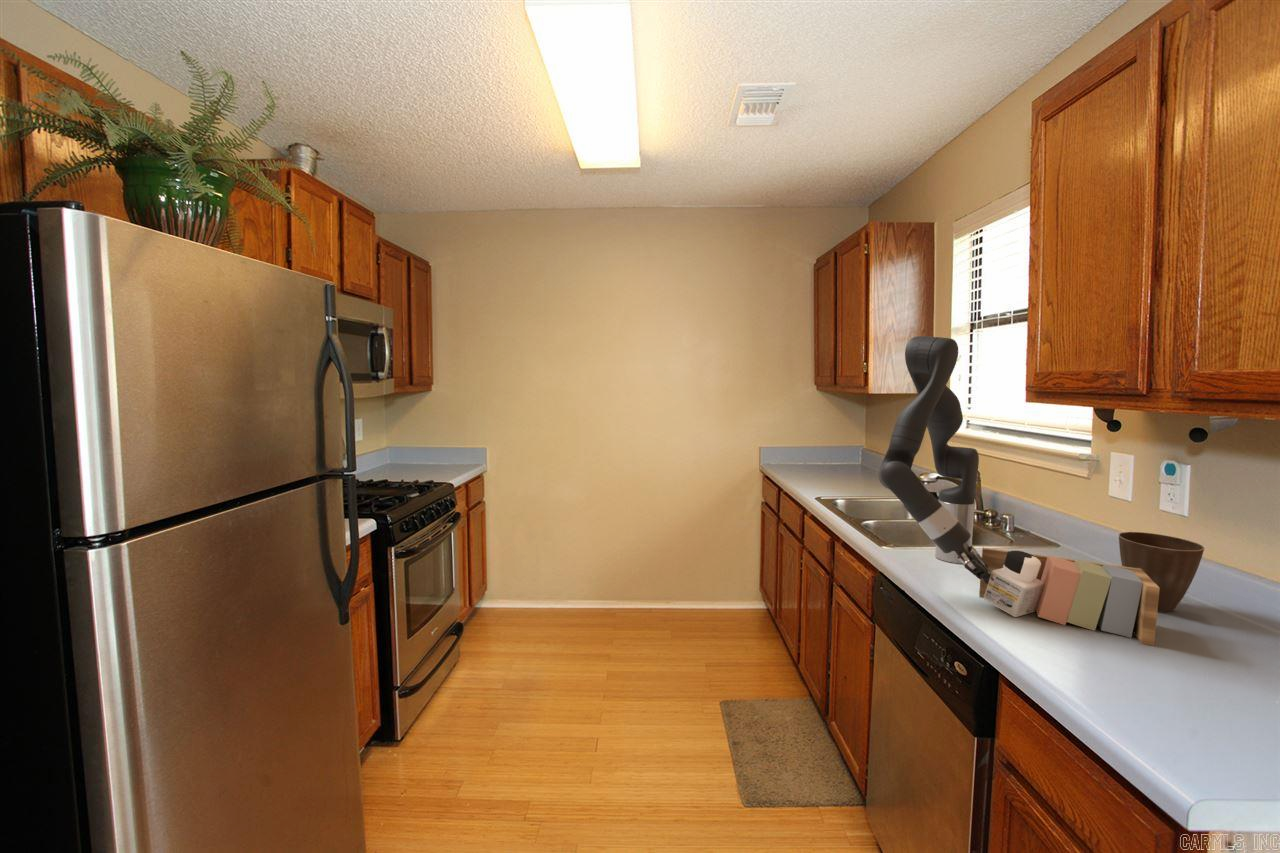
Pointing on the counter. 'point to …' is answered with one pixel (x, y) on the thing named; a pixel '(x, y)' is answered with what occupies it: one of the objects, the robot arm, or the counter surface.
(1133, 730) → the counter surface
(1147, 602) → the wooden book rack
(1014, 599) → the container
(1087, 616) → the book
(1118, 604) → the book
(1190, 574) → the plant pot
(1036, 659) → the counter surface
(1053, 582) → the book
